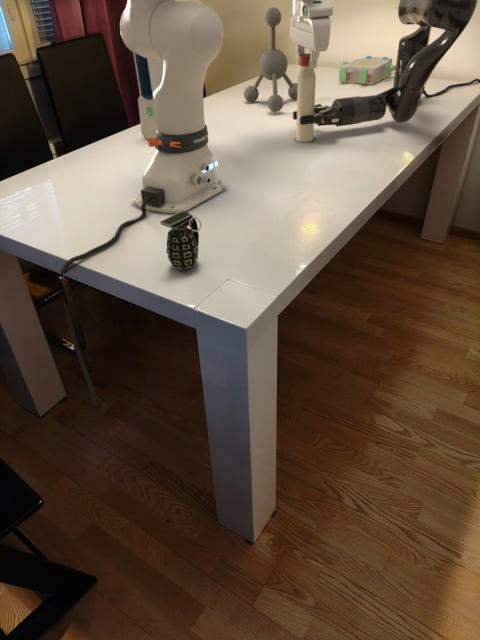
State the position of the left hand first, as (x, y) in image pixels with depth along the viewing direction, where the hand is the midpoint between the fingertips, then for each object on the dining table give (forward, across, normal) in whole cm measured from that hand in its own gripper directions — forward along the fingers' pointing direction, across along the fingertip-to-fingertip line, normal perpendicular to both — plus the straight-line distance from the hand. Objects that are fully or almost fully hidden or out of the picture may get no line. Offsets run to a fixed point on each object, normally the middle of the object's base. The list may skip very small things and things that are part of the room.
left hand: (307, 65), depth 133 cm
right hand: (+14, 0, -3) cm, 14 cm away
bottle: (+20, 0, 0) cm, 20 cm away
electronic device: (+20, -18, -40) cm, 48 cm away
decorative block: (+20, -63, +50) cm, 83 cm away
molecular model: (+20, -41, +5) cm, 46 cm away
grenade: (+20, +60, -46) cm, 79 cm away
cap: (-2, 0, 0) cm, 2 cm away
